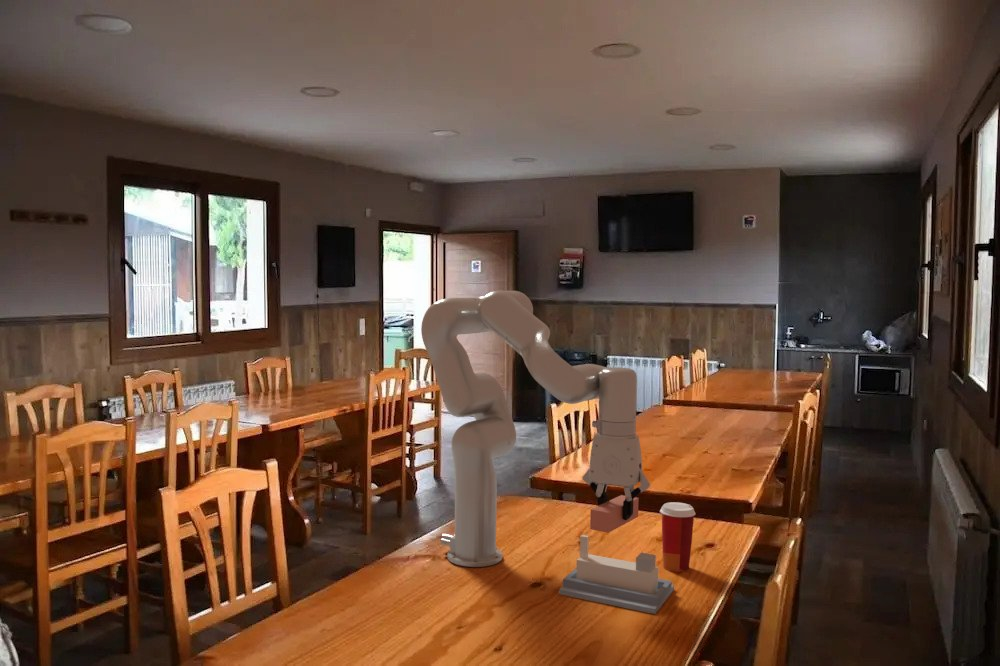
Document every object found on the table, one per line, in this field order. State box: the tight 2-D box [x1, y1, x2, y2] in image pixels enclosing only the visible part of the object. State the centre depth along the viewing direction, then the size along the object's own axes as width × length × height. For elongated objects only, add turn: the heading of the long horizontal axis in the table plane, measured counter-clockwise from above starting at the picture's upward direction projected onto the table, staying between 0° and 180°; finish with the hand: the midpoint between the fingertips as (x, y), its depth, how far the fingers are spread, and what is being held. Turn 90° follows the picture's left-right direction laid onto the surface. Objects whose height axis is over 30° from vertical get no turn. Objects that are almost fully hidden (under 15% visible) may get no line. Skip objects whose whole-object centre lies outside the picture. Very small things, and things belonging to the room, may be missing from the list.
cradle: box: [558, 567, 675, 615], centre depth 165 cm, size 20×14×2 cm
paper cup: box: [659, 501, 696, 573], centre depth 179 cm, size 8×8×14 cm
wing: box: [589, 494, 640, 534], centre depth 164 cm, size 14×4×4 cm, turn 146°
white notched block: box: [576, 534, 659, 594], centre depth 165 cm, size 16×4×10 cm, turn 63°
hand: (615, 515), depth 164 cm, fingers closed on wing, 4 cm apart
